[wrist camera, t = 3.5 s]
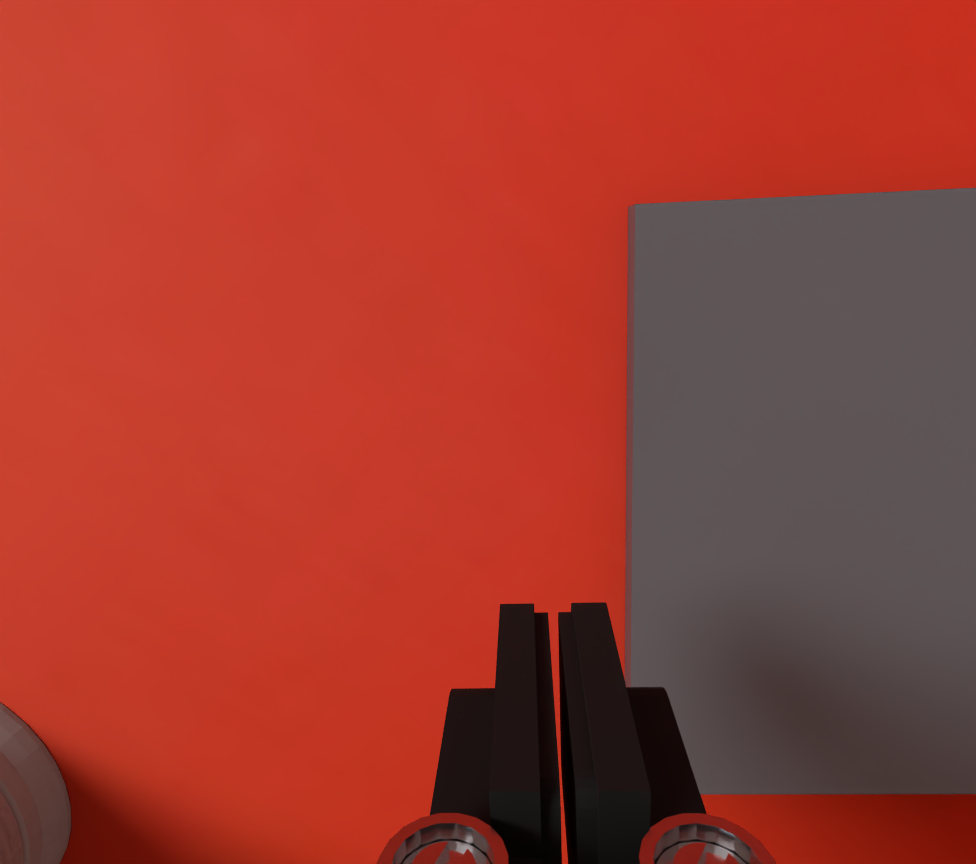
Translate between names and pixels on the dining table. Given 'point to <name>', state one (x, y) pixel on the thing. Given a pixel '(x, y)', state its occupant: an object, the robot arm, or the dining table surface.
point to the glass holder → (30, 797)
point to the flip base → (806, 488)
